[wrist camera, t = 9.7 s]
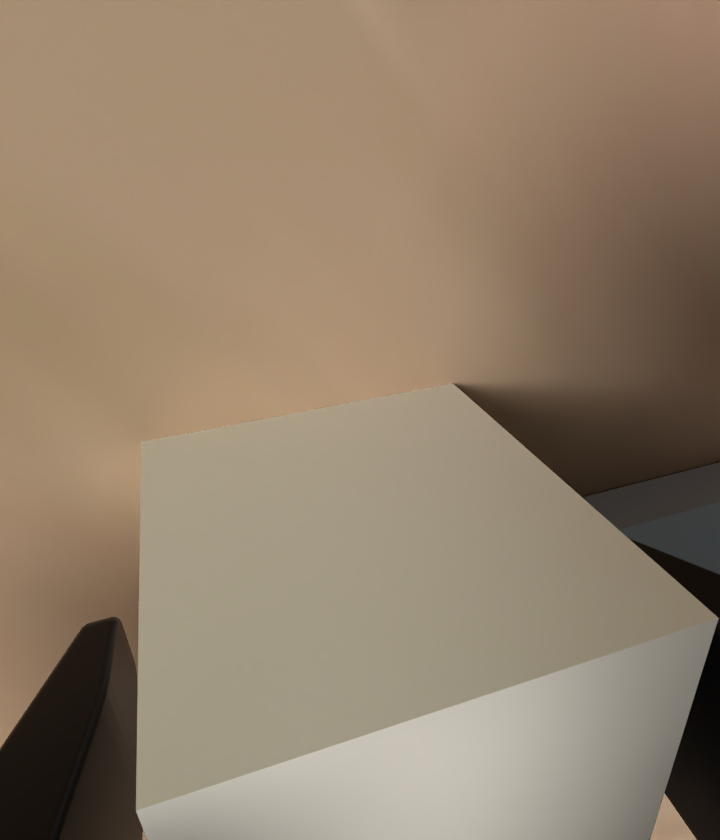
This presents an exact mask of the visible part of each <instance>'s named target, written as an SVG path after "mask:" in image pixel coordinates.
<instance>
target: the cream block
mask: <svg viewBox="0 0 720 840" xmlns="http://www.w3.org/2000/svg"><path fill="white" fill-rule="evenodd" d="M718 619H719V618H718V617H717V616H716V615H715V614H714V613H712V612H711V611H710V610H709V609H708V608H707V607H706V606H704V605H703V604H702V603H701V602H700V601H699V600H698V599H697V598H695V597H694V596H693V595H692V594H691V593H690V592H689V591H687V590H686V589H685V588H684V587H683V586H682V585H681V584H680V583H678V582H677V581H676V580H675V579H674V578H673V577H672V576H670V575H669V574H668V573H667V572H666V571H665V570H664V569H663V568H661V567H660V566H659V565H658V564H657V563H656V562H655V561H653V560H652V559H651V558H650V557H649V556H648V555H647V554H646V553H644V552H643V551H642V550H641V549H640V548H639V547H638V546H637V545H635V544H634V543H633V542H632V541H631V540H630V539H629V538H627V537H626V536H625V535H624V534H623V533H622V532H621V531H620V530H618V529H617V528H616V527H615V526H614V525H613V524H612V523H610V522H609V521H608V520H607V519H606V518H605V517H604V516H603V515H601V514H600V513H599V512H598V511H597V510H596V509H595V508H593V507H592V506H591V505H590V504H589V503H588V502H587V501H586V500H584V499H583V498H582V497H581V496H580V495H579V494H578V493H576V492H575V491H574V490H573V489H572V488H571V487H570V486H569V485H567V484H566V483H565V482H564V481H563V480H562V479H561V478H559V477H558V476H557V475H556V474H555V473H554V472H553V471H552V470H550V469H549V468H548V467H547V466H546V465H545V464H544V463H543V462H541V461H540V460H539V459H538V458H537V457H536V456H535V455H533V454H532V453H531V452H530V451H529V450H528V449H527V448H526V447H524V446H523V445H522V444H521V443H520V442H519V441H518V440H516V439H515V438H514V437H513V436H512V435H511V434H510V433H509V432H507V431H506V430H505V429H504V428H503V427H502V426H501V425H499V424H498V423H497V422H496V421H495V420H494V419H493V418H492V417H490V416H489V415H488V414H487V413H486V412H485V411H484V410H482V409H481V408H480V407H479V406H478V405H477V404H476V403H475V402H473V401H472V400H471V399H470V398H469V397H468V396H467V395H466V394H464V393H463V392H462V391H461V390H460V389H459V388H458V387H456V386H455V385H454V384H453V383H452V384H447V385H442V386H436V387H431V388H426V389H420V390H415V391H410V392H405V393H399V394H394V395H389V396H383V397H378V398H373V399H367V400H362V401H357V402H352V403H346V404H341V405H336V406H330V407H325V408H320V409H314V410H309V411H304V412H298V413H293V414H288V415H283V416H277V417H272V418H267V419H261V420H256V421H251V422H245V423H240V424H235V425H230V426H224V427H219V428H214V429H208V430H203V431H198V432H192V433H187V434H182V435H176V436H171V437H166V438H161V439H155V440H150V441H145V442H141V493H140V561H139V629H138V697H137V765H136V813H137V815H138V818H139V820H140V823H141V825H142V828H143V830H144V833H145V835H146V838H147V840H650V838H651V834H652V831H653V828H654V825H655V822H656V818H657V815H658V812H659V809H660V805H661V802H662V799H663V796H664V793H665V789H666V786H667V783H668V780H669V776H670V773H671V770H672V767H673V764H674V760H675V757H676V754H677V751H678V748H679V744H680V741H681V738H682V735H683V731H684V728H685V725H686V722H687V719H688V715H689V712H690V709H691V706H692V702H693V699H694V696H695V693H696V690H697V686H698V683H699V680H700V677H701V673H702V670H703V667H704V664H705V661H706V657H707V654H708V651H709V648H710V644H711V641H712V638H713V635H714V632H715V628H716V625H717V622H718Z"/></svg>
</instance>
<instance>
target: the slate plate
mask: <svg viewBox="0 0 720 840" xmlns="http://www.w3.org/2000/svg"><path fill="white" fill-rule="evenodd" d="M582 498H583V499H584V500H586V501H587V502H588V503H589V504H590V505H591V506H592V507H593V508H595V509H596V510H597V511H598V512H599V513H600V514H601V515H603V516H604V517H605V518H606V519H607V520H608V521H609V522H610V523H612V524H613V525H614V526H615V527H616V528H617V529H618V530H620V531H621V532H622V533H623V534H624V535H625V536H626V537H627V538H630V539H632V540H635V541H637V542H640V543H642V544H645V545H647V546H650V547H652V548H655V549H657V550H660V551H662V552H665V553H667V554H670V555H672V556H675V557H677V558H680V559H682V560H685V561H687V562H690V563H693V564H695V565H698V566H700V567H703V568H705V569H708V570H710V571H713V572H715V573H718V574H720V462H719V463H715V464H711V465H707V466H703V467H699V468H695V469H691V470H687V471H683V472H679V473H675V474H672V475H668V476H664V477H660V478H656V479H652V480H648V481H644V482H640V483H636V484H632V485H629V486H625V487H621V488H617V489H613V490H609V491H605V492H601V493H597V494H593V495H589V496H585V497H582Z"/></svg>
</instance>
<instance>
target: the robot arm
mask: <svg viewBox="0 0 720 840" xmlns="http://www.w3.org/2000/svg"><path fill="white" fill-rule="evenodd" d="M629 539H630V538H629ZM630 540H631V541H632V542H633V543H634V544H635V545H637V546H638V547H639V548H640V549H641V550H642V551H643V552H644V553H646V554H647V555H648V556H649V557H650V558H651V559H652V560H653V561H655V562H656V563H657V564H658V565H659V566H660V567H661V568H663V569H664V570H665V571H666V572H667V573H668V574H669V575H670V576H672V577H673V578H674V579H675V580H676V581H677V582H678V583H680V584H681V585H682V586H683V587H684V588H685V589H686V590H687V591H689V592H690V593H691V594H692V595H693V596H694V597H695V598H697V599H698V600H699V601H700V602H701V603H702V604H703V605H704V606H706V607H707V608H708V609H709V610H710V611H711V612H712V613H714V614H715V615H716V616H717V617H718V618H719V619H718V622H717V625H716V628H715V632H714V635H713V638H712V641H711V644H710V648H709V651H708V654H707V657H706V661H705V664H704V667H703V670H702V673H701V677H700V680H699V683H698V686H697V690H696V693H695V696H694V699H693V702H692V706H691V709H690V712H689V715H688V719H687V722H686V725H685V728H684V731H683V735H682V738H681V741H680V744H679V748H678V751H677V754H676V757H675V760H674V764H673V767H672V770H671V773H670V776H669V780H668V783H667V786H666V789H665V794H666V796H667V797H668V799H669V800H670V801H671V803H672V804H673V806H674V807H675V809H676V810H677V812H678V813H679V814H680V816H681V817H682V819H683V820H684V822H685V823H686V825H687V826H688V827H689V829H690V830H691V832H692V833H693V835H694V836H695V838H696V839H697V840H720V574H718V573H715V572H713V571H710V570H708V569H705V568H703V567H700V566H698V565H695V564H693V563H690V562H687V561H685V560H682V559H680V558H677V557H675V556H672V555H670V554H667V553H665V552H662V551H660V550H657V549H655V548H652V547H650V546H647V545H645V544H642V543H640V542H637V541H635V540H632V539H630ZM137 697H138V684H137V673H136V666H135V662H134V658H133V655H132V652H131V649H130V646H129V643H128V640H127V637H126V634H125V631H124V628H123V625H122V623H121V621H120V619H119V618H117V617H110V618H106V619H102V620H98V621H94V622H91V623H88V624H86V625H85V626H84V627H83V628H82V629H81V630H80V632H79V633H78V635H77V636H76V638H75V639H74V641H73V642H72V643H71V645H70V646H69V648H68V649H67V651H66V652H65V654H64V655H63V657H62V658H61V660H60V661H59V663H58V664H57V666H56V667H55V669H54V670H53V671H52V673H51V674H50V676H49V677H48V679H47V680H46V682H45V683H44V685H43V686H42V688H41V689H40V691H39V692H38V694H37V695H36V697H35V698H34V699H33V701H32V702H31V704H30V705H29V707H28V708H27V710H26V711H25V713H24V714H23V716H22V717H21V719H20V720H19V722H18V723H17V725H16V726H15V728H14V729H13V730H12V732H11V733H10V735H9V736H8V738H7V739H6V741H5V742H4V744H3V745H2V747H1V748H0V840H142V834H143V828H142V825H141V823H140V820H139V818H138V815H137V813H136V765H137Z"/></svg>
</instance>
